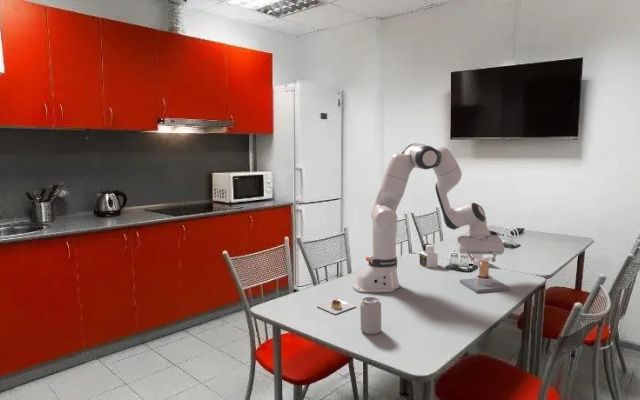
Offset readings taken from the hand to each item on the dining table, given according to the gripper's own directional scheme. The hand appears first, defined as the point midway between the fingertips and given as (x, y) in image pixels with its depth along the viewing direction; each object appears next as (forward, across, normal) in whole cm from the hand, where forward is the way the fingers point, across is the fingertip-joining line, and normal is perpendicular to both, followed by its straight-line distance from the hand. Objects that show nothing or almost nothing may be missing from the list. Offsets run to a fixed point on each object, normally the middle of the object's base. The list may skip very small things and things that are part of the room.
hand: (483, 261), depth 197 cm
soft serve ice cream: (-17, +3, +34) cm, 38 cm away
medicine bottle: (-13, -22, +30) cm, 39 cm away
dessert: (+33, -65, -15) cm, 74 cm away
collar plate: (+10, 0, +7) cm, 12 cm away
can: (+48, -50, -31) cm, 75 cm away
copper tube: (+8, 0, +6) cm, 10 cm away
